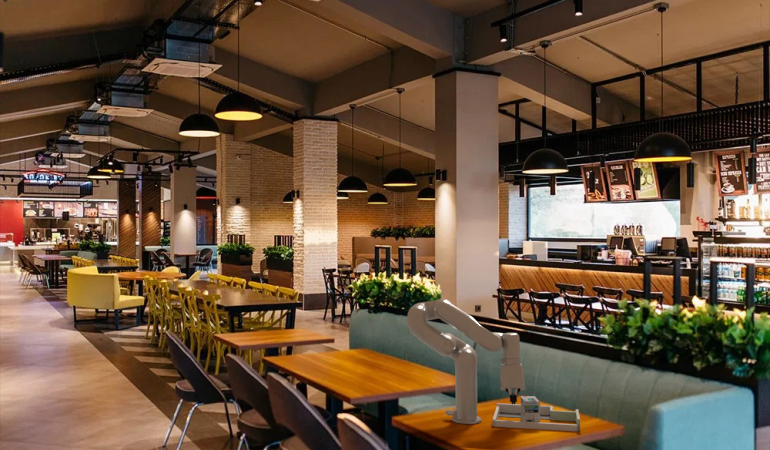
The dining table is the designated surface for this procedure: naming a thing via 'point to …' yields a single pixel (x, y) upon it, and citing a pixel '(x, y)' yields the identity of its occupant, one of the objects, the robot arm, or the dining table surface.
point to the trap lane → (545, 413)
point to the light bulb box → (530, 409)
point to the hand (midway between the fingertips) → (513, 403)
